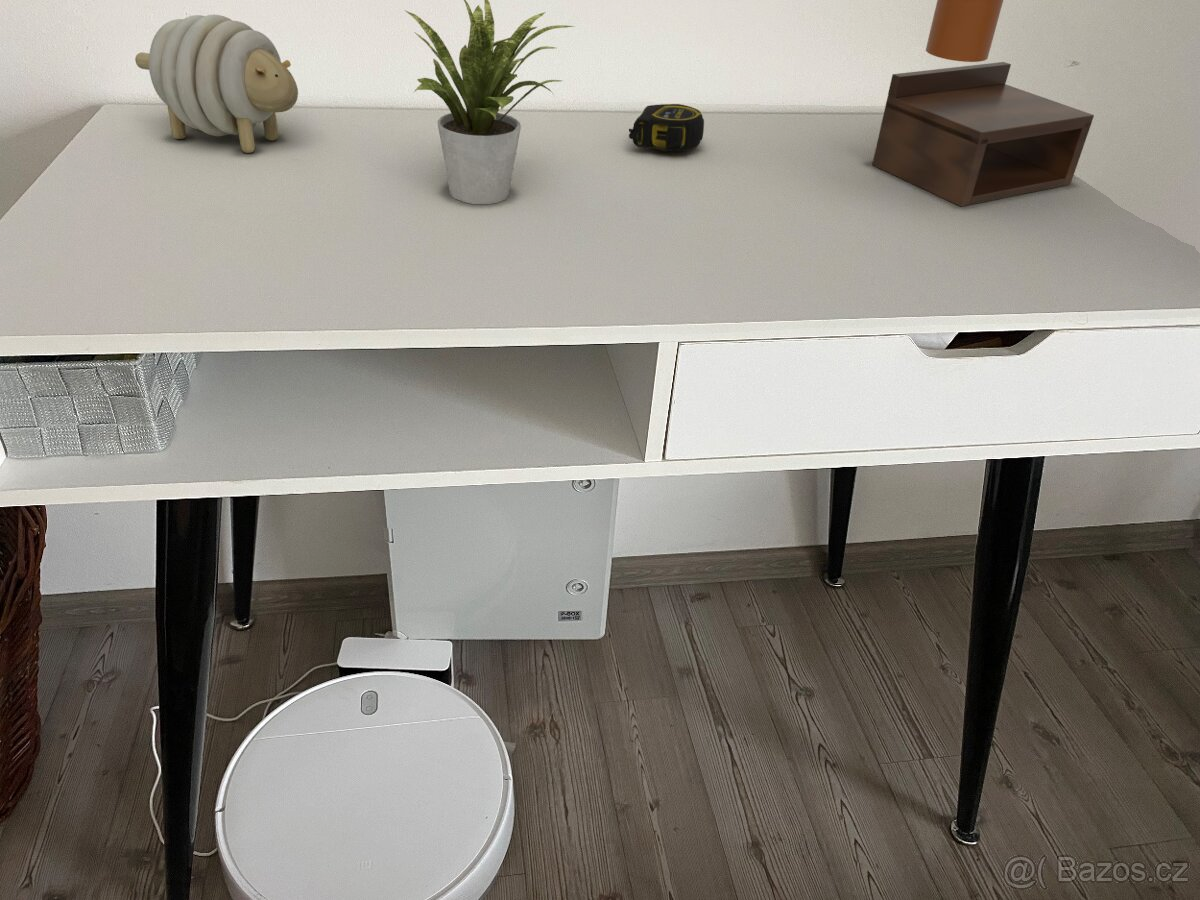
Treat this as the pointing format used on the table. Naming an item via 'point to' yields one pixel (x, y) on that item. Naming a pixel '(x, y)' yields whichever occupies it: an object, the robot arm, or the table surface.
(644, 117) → the tape measure
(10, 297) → the table surface
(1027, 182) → the box
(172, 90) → the toy sheep
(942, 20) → the bottle
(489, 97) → the house plant
